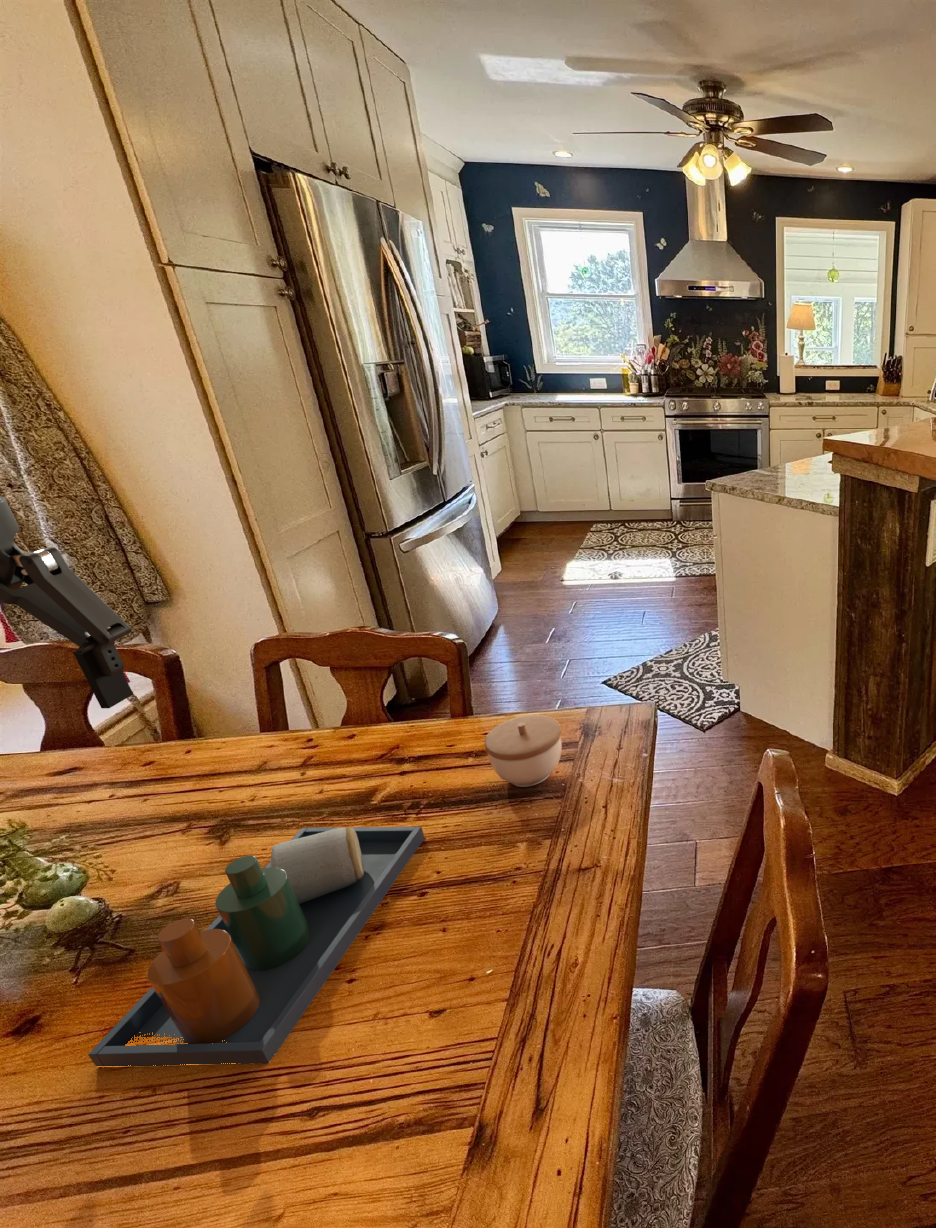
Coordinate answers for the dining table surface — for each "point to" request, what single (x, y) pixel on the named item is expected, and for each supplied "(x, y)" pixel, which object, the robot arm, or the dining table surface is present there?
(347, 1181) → the dining table surface
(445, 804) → the dining table surface
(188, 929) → the amber bottle
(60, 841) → the dining table surface
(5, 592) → the robot arm
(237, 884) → the green bottle
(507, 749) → the trinket box
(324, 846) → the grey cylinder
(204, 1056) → the tray
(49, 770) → the dining table surface
